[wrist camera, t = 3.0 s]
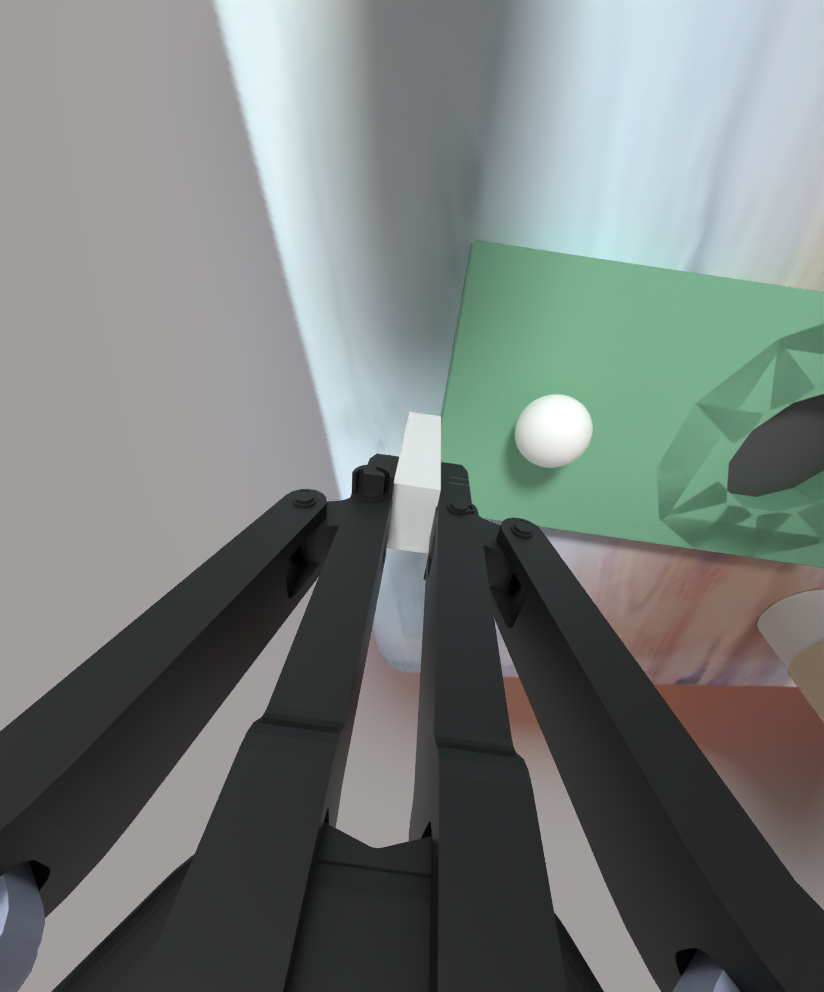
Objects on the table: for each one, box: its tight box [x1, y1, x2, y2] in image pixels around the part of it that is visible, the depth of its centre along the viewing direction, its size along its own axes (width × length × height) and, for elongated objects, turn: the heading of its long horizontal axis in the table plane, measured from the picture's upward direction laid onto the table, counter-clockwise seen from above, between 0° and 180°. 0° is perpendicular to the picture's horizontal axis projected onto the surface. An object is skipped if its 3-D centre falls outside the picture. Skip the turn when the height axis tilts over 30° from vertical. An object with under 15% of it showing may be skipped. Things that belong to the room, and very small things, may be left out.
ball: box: [515, 394, 593, 468], centre depth 19 cm, size 4×4×4 cm
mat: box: [441, 240, 824, 568], centre depth 22 cm, size 16×30×2 cm, turn 83°
